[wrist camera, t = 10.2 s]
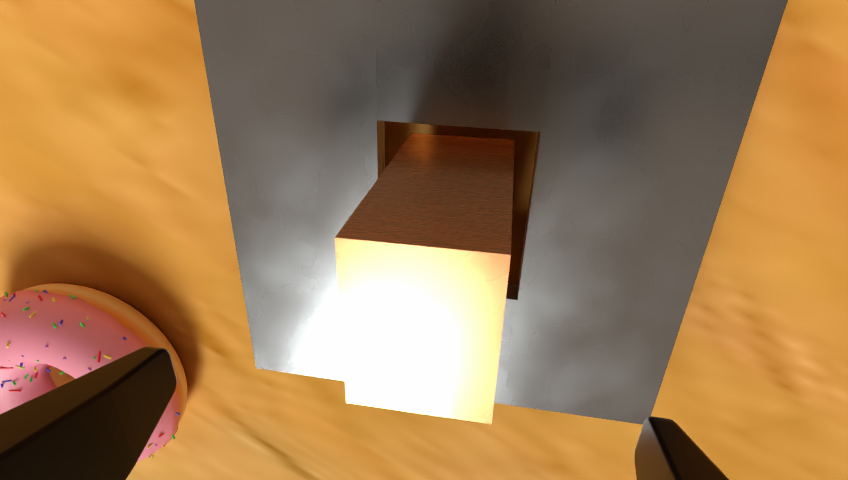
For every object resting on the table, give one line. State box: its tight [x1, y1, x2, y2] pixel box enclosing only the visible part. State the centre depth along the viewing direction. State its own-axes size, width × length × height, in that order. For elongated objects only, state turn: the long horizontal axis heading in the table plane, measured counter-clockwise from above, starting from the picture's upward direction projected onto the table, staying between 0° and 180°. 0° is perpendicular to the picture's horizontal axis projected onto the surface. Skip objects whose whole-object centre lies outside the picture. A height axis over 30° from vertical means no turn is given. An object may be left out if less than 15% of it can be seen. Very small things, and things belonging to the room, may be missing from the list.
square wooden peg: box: [335, 133, 515, 424], centre depth 15 cm, size 4×4×10 cm
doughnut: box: [0, 283, 187, 462], centre depth 25 cm, size 11×11×4 cm
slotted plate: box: [194, 0, 788, 424], centre depth 18 cm, size 16×16×3 cm
